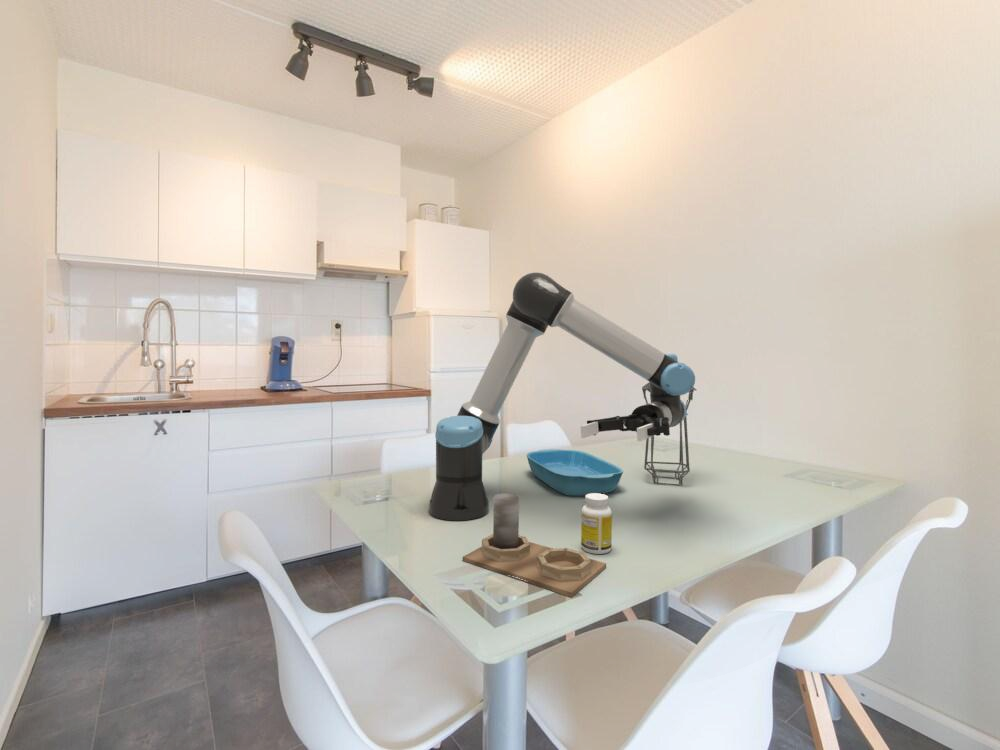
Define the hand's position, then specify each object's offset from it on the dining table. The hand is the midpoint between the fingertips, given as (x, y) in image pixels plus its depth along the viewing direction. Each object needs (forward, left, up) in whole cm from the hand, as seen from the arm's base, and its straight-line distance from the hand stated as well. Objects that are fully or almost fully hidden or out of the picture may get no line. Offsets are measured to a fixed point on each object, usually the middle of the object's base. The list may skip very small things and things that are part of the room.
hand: (609, 433), depth 106 cm
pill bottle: (+1, -7, -23) cm, 24 cm away
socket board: (-6, -21, -23) cm, 32 cm away
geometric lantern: (-4, +56, -23) cm, 61 cm away
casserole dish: (-27, +36, -23) cm, 51 cm away
